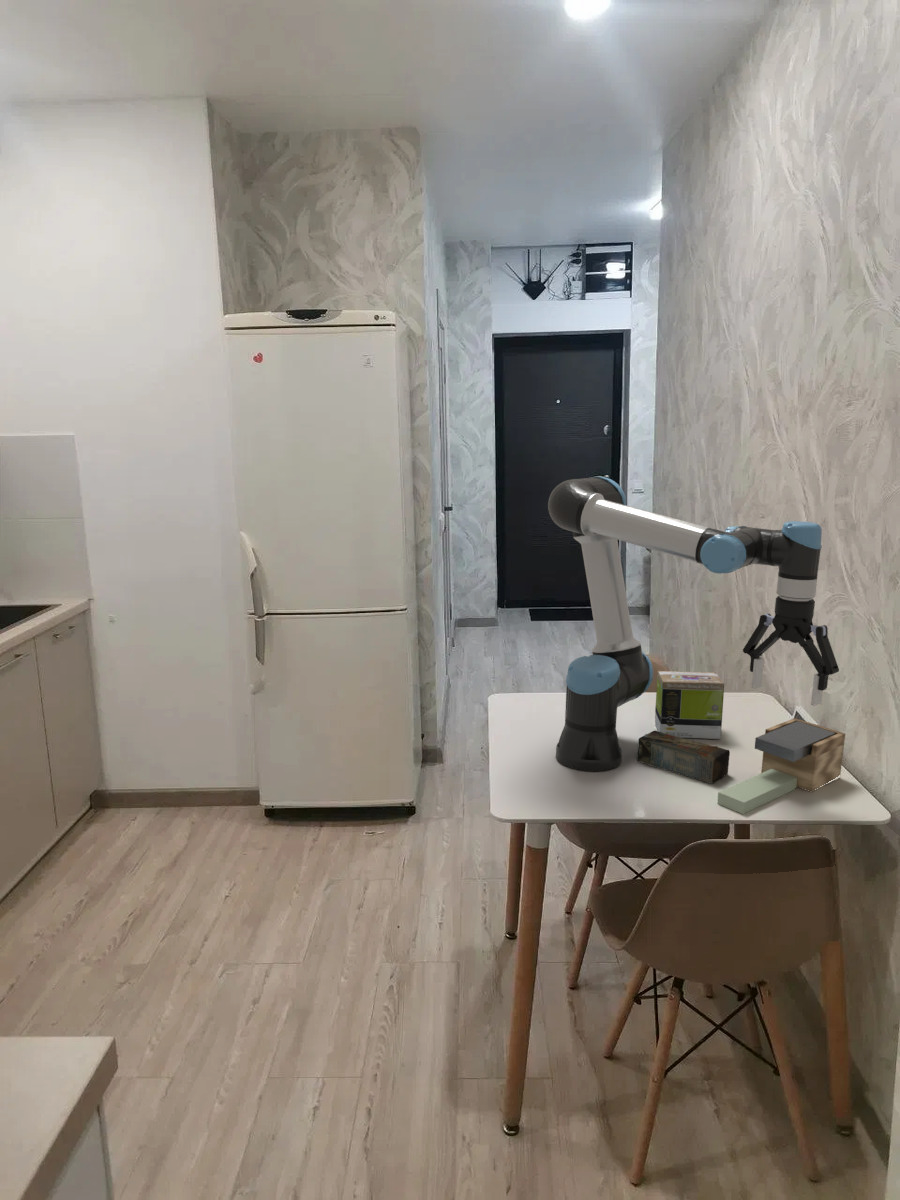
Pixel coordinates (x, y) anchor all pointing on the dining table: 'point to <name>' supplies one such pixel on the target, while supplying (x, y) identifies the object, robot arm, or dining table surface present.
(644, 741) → the beverage carton
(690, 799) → the dining table surface
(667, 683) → the tea box
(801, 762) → the oak box
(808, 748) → the cover plate
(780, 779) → the block
